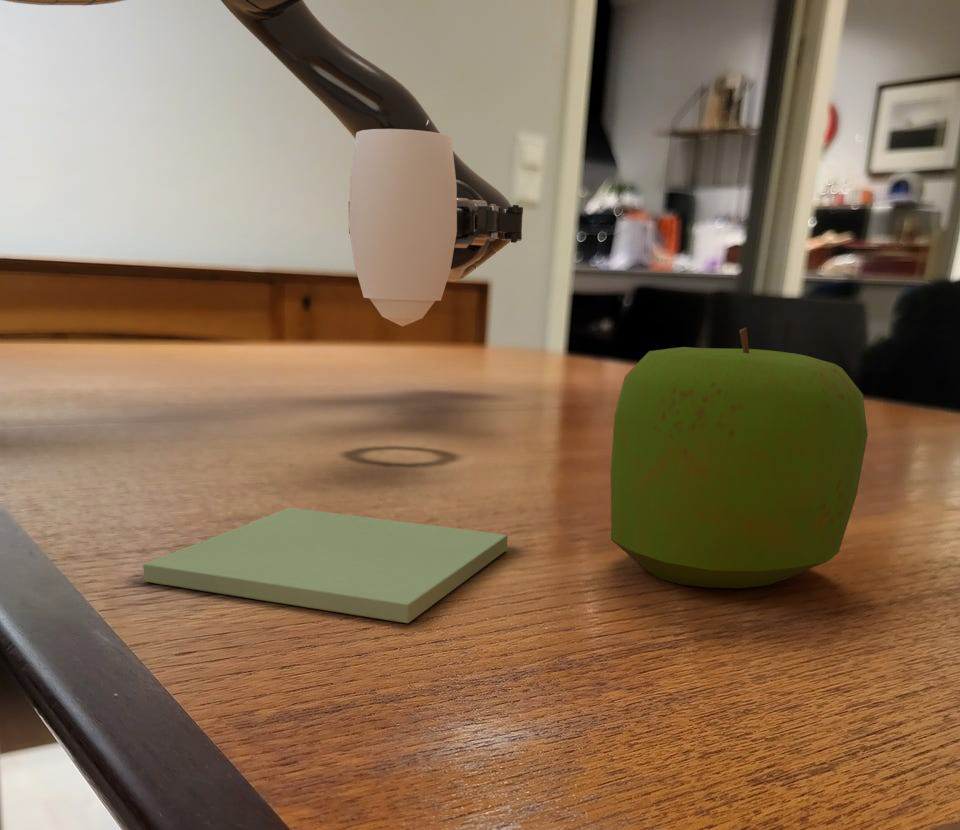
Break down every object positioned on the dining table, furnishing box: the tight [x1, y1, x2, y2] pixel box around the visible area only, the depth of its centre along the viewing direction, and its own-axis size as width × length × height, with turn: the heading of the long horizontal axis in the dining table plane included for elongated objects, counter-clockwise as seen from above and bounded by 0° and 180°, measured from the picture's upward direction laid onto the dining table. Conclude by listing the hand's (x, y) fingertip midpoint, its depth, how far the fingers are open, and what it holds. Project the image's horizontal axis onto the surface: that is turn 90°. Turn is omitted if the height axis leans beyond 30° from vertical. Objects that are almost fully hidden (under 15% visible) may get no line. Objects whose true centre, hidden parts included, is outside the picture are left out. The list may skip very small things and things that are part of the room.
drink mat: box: [142, 507, 509, 624], centre depth 45 cm, size 12×12×1 cm
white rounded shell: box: [348, 129, 457, 327], centre depth 68 cm, size 7×7×21 cm
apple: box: [610, 327, 869, 589], centre depth 45 cm, size 11×11×11 cm
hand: (426, 217), depth 77 cm, fingers open, 8 cm apart
